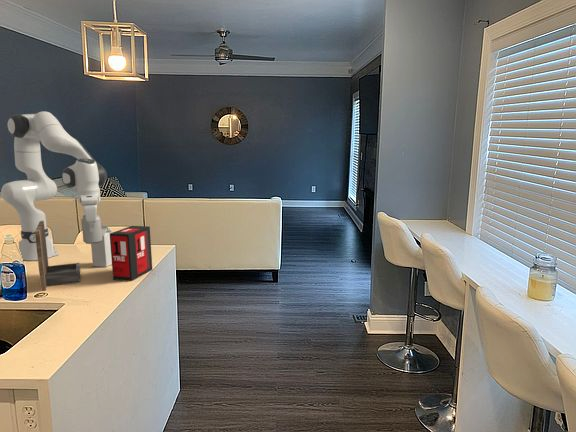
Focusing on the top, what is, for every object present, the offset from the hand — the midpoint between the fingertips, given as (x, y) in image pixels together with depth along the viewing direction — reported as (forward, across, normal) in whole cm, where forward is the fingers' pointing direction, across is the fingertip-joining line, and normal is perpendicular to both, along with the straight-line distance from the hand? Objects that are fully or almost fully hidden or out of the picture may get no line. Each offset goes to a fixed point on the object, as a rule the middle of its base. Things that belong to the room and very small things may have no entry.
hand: (91, 229), depth 197 cm
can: (+6, 0, 0) cm, 6 cm away
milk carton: (+21, -16, +4) cm, 26 cm away
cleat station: (+20, +1, -13) cm, 24 cm away
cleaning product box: (+21, +6, +15) cm, 26 cm away
